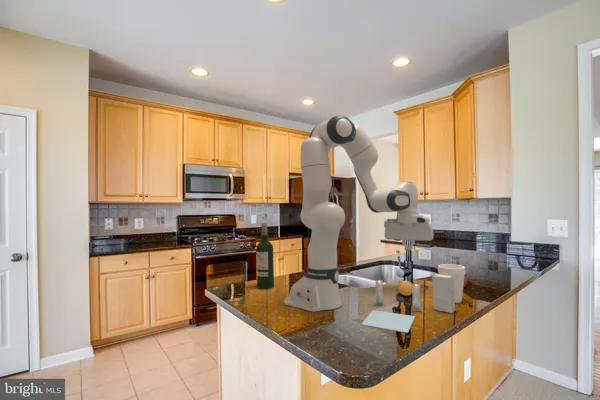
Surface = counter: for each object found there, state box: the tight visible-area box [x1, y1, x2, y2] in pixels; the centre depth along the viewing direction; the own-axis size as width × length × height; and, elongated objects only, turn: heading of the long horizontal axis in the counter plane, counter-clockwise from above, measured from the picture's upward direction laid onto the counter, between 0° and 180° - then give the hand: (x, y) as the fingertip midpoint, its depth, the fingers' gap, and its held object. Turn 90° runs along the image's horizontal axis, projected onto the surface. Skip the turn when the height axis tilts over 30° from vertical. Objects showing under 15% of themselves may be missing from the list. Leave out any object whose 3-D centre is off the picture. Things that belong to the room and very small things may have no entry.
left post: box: [375, 279, 384, 307], centre depth 113 cm, size 3×3×9 cm
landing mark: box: [361, 309, 416, 334], centre depth 97 cm, size 14×14×1 cm
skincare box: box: [431, 273, 456, 314], centre depth 106 cm, size 6×4×12 cm
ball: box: [397, 280, 413, 297], centre depth 124 cm, size 6×6×6 cm
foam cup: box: [437, 263, 466, 304], centre depth 116 cm, size 10×9×13 cm
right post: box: [411, 283, 422, 312], centre depth 107 cm, size 3×3×9 cm
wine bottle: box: [255, 222, 275, 290], centre depth 142 cm, size 8×8×30 cm
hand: (408, 250), depth 133 cm, fingers closed
